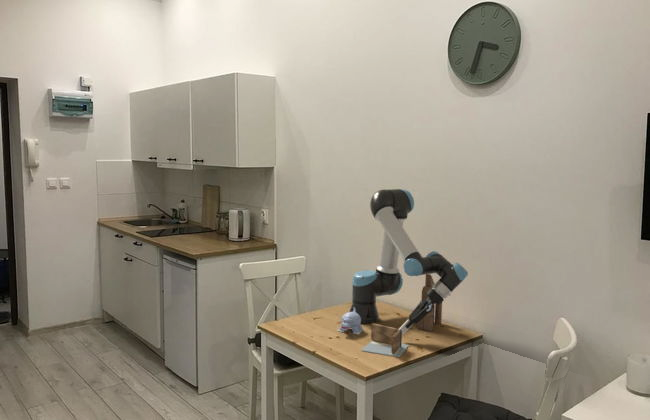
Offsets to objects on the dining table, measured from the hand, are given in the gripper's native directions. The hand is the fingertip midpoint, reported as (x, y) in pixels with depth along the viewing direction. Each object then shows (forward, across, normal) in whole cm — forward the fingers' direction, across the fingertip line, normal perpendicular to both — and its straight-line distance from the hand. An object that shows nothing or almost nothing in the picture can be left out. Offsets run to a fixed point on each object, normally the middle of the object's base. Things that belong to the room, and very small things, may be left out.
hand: (400, 332), depth 233 cm
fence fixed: (+6, -13, 0) cm, 14 cm away
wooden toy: (-10, +22, -15) cm, 29 cm away
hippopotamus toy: (+17, +12, +13) cm, 25 cm away
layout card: (+8, -10, +3) cm, 13 cm away
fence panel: (+8, -4, +3) cm, 9 cm away
